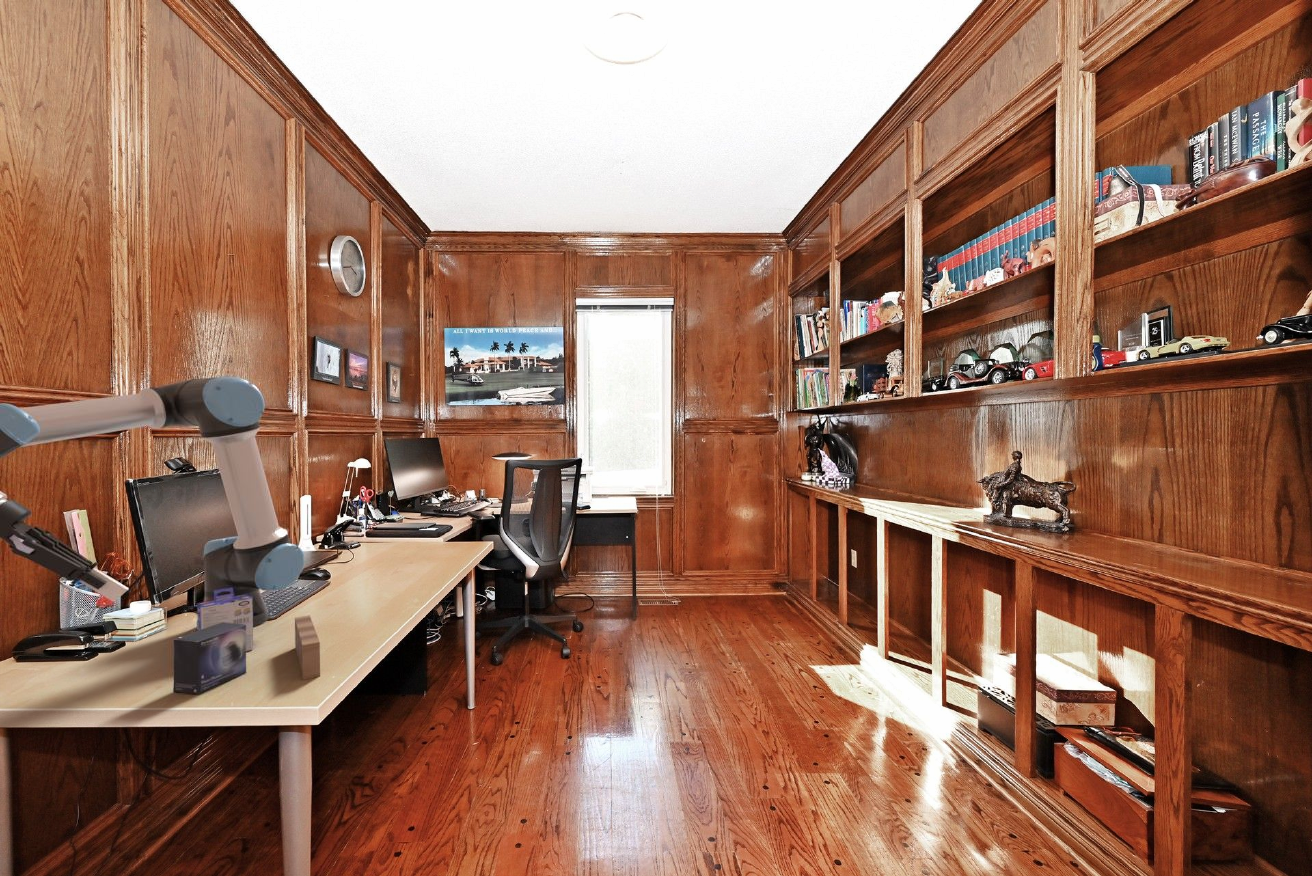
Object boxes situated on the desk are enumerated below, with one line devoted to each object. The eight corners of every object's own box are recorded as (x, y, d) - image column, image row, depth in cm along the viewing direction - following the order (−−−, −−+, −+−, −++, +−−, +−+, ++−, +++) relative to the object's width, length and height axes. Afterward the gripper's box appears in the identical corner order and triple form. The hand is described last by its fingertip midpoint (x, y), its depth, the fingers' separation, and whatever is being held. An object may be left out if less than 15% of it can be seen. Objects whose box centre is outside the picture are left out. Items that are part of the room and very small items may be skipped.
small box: (199, 695, 110) (198, 641, 110) (171, 693, 111) (170, 639, 111) (248, 673, 120) (247, 622, 120) (222, 670, 121) (221, 621, 121)
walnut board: (295, 647, 134) (294, 617, 134) (310, 644, 136) (309, 615, 136) (303, 679, 116) (302, 645, 116) (320, 676, 118) (319, 642, 118)
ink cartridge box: (249, 644, 137) (248, 583, 137) (255, 649, 133) (254, 587, 133) (196, 656, 130) (195, 592, 129) (201, 662, 126) (200, 596, 126)
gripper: (-22, 526, 102) (109, 603, 112) (-53, 537, 91) (94, 621, 101) (21, 494, 105) (145, 572, 115) (-4, 500, 94) (134, 585, 104)
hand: (121, 595), depth 108 cm, fingers closed
